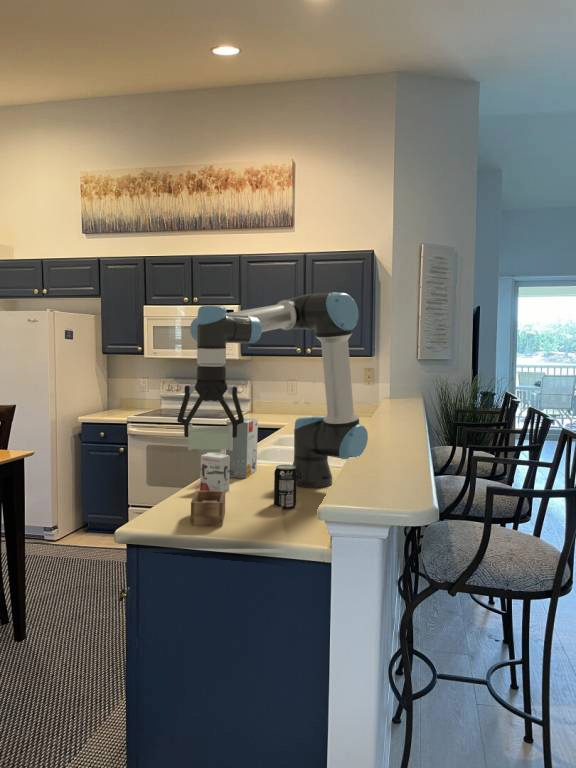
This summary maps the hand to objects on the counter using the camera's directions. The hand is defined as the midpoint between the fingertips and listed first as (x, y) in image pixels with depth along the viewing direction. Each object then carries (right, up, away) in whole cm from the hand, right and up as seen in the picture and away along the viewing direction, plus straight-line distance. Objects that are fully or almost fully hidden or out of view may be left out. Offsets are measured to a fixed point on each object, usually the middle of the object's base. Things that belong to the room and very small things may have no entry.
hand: (210, 449), depth 165 cm
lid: (0, +1, 0) cm, 1 cm away
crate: (-1, -19, +1) cm, 20 cm away
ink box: (-3, -17, +37) cm, 41 cm away
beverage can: (+20, -19, +19) cm, 33 cm away
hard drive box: (+4, -16, +64) cm, 66 cm away
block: (-1, -19, +4) cm, 19 cm away
